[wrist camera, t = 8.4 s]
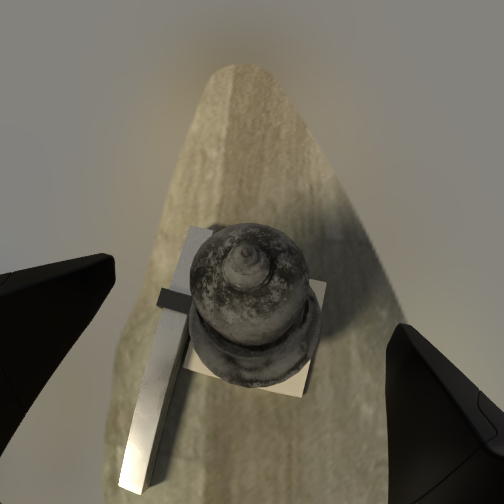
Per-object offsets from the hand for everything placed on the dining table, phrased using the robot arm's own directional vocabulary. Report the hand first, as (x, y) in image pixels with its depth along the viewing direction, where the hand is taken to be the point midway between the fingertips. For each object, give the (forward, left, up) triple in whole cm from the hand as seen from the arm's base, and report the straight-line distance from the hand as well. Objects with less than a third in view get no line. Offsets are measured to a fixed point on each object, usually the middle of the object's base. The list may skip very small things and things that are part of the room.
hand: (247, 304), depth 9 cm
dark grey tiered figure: (0, 0, -9) cm, 8 cm away
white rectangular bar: (-3, +4, -9) cm, 10 cm away
